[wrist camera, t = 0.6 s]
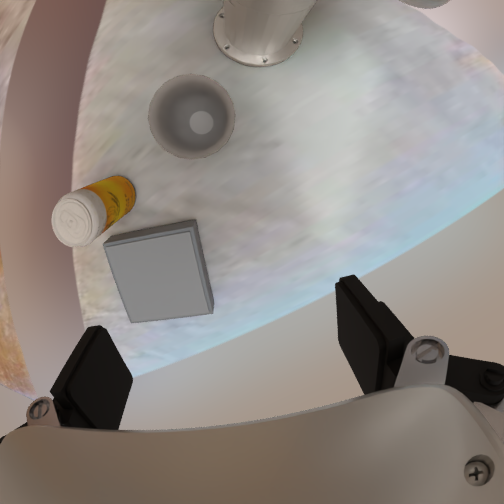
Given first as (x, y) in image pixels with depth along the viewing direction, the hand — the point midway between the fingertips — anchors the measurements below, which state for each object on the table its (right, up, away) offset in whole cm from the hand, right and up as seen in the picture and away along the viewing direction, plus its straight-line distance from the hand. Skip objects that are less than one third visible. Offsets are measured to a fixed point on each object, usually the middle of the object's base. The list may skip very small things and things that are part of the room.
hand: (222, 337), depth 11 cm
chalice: (-5, +21, +27) cm, 34 cm away
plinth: (-13, 0, +34) cm, 36 cm away
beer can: (-19, +12, +29) cm, 37 cm away
